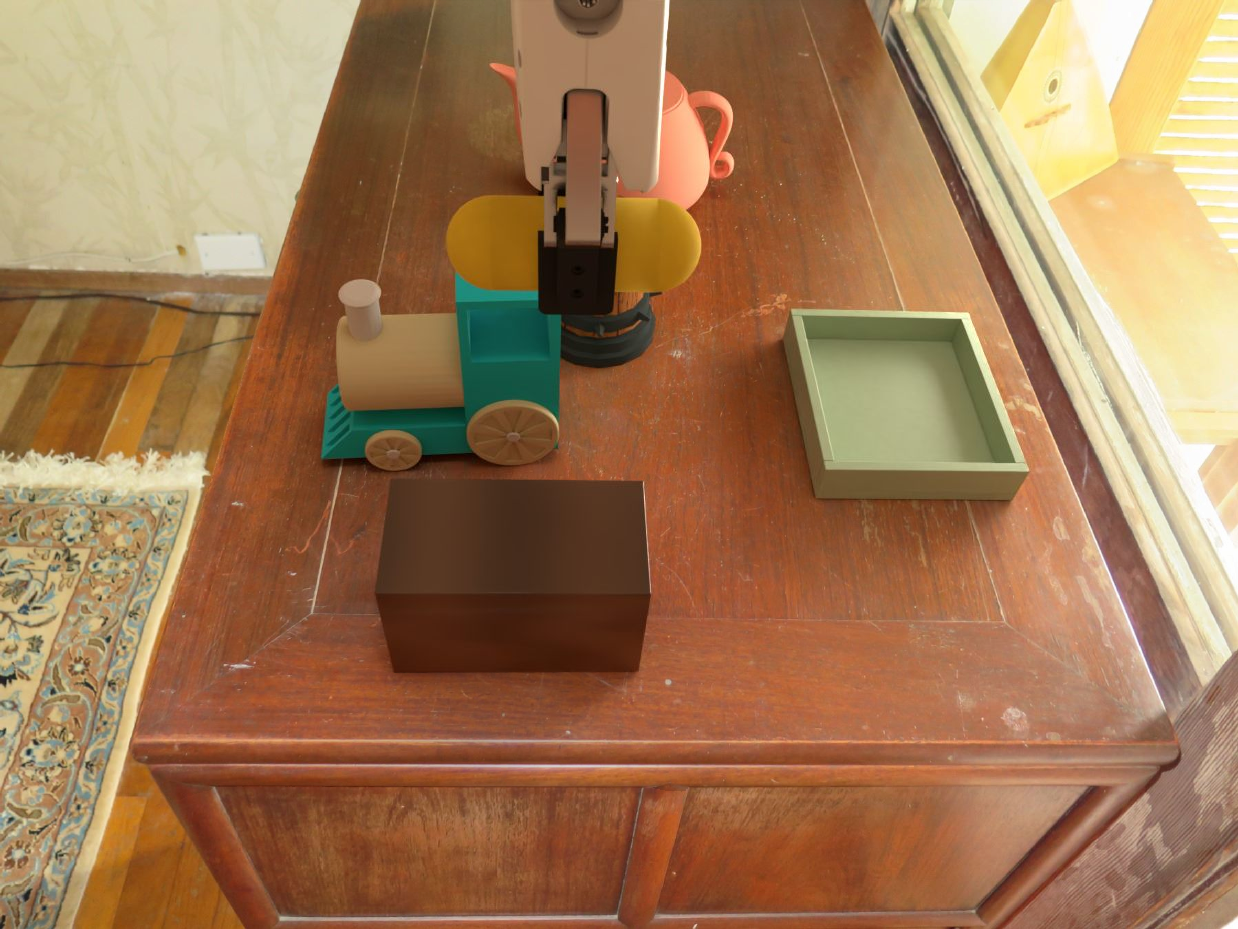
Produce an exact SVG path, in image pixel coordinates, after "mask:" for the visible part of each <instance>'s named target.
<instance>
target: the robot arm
mask: <svg viewBox="0 0 1238 929" xmlns="http://www.w3.org/2000/svg"><path fill="white" fill-rule="evenodd" d="M670 1H671V0H510V14H511V16H510V17H511V18H510V19H511V32H512V33H511V34H512V46H513V47H512V49H513V60H514V61H513V62H514V63H513V64H514V68H515V75H516V87H517V98H518V109H519V118H520V127H521V137H522V146H521V148H522V147H523V148H522V156H523V164H524V174H525V179H526V180H527V181H528V182H529V183H530V184H531V186H532V187H533V188H535V189H537V190H538V191H537V192H538V193H537V194H538V195H537V196H544V231H543V230H538V309H539V311H540V312H541V313H543V314H546V315H608V314H610V313H611V312H612V311H613V309H614V295H615V280H616V266H617V251H618V232H615V212H616V191H617V183H618V176H617V170H618V173H619V175H620V178H621V180H622V182H623V185H624V187H625V189H626V191H641V193H648V192H649V191H650V190H651V189H652V188H653V187H654V186H655V185H656V184H657V182H658V173H659V154H660V136H661V120H662V106H663V91H664V77H665V70H666V63H667V47H668V34H669V33H668V32H669V16H670ZM556 156H557V162H554V159H556ZM602 160H606V163H602ZM557 196H564V197H566V208H565V207H559V211H557Z"/></svg>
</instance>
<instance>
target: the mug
mask: <svg viewBox="0 0 1238 929" xmlns="http://www.w3.org/2000/svg"><path fill="white" fill-rule="evenodd" d="M616 198H625V197H622V196H619V195H617V196H616ZM660 295H663V292H615V295H614V309H613V311H612V312H611V313H610V314H608V315H561V348H560V359H563V360H565V361H566V362H570V363H571V364H573V365H577V366H584V367H590V368H591V367H592V368H597V369H599V368H608V367H614V366H621V365H624V364H626V363H628V362H630V361H632V360H634V359H636V358H638V357H640V356H642V354H643V353H644V352H645V351H646V350H647V349H648V347H649V346H650V345H651V344H652V343H653V339H654V334H655V327H656V320H657V319H656V316H655V314H654V310H653V308H652V304H651V303H650V301H651V298H653V297H656V296H657V297H658V296H660Z"/></svg>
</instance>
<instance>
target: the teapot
mask: <svg viewBox="0 0 1238 929" xmlns="http://www.w3.org/2000/svg"><path fill="white" fill-rule="evenodd" d="M489 67H490V68H491V70H492V71H494V72H495V73H497V74H498V75H499V77H501V78H502V79H503V80H504V81H505V82H506V84H507V86H508V87H509V88H510V89H509V90H510V91H511V94H512V99H513V108H514V123H515V124H514V125H515V131H516V135H517V138H518V143H519V144H520V146H521V148H522V149H523V147H522V137H521V127H520V118H519V109H518V98H517V87H516V75H515V67H513V66H509V65H507V64H503V63H499V62H491V63H489ZM700 107H709V108H713V109H715V110H717V111H719V112H720V113H721V120H720V124H719V127H718V130H717V132H716V134H715V136H714V138H713V140H712V142H711V144H710V145H709V141H708V138H707V137H708V136H707V134H706V130H705V126H704V124H703V122H702V119H701V116H700V113H699V112H698V110H697V108H700ZM733 122H734V114H733V109H732V106H731V104H730V103H729V101H728V100H727V99H726V98H725V97H724V96H722V95H720V94H719V93H716V92H715V91H711V90H698V91H694V92H691V93H690V94H689V93H688V91H687V90H686V88H685V86H684V85H683V84H682V83H681V80H679V79H678V77H676V76H675V75H673V74H672V73H671V72H670V71H668V70H666V69H665V77H664V91H663V106H662V120H661V136H660V154H659V173H658V182H657V184H656V185H655V186H654V187H653V188H652V189H651V190H650V191H649V192H648V193H641V191H626V189H625V187H624V185H623V182H622V180H621V178H620V175H619V173H618V170H617V176H618V183H617V191H616V196H617V195H619V196H622V197H625V198H658V199H666V200H669V201H672V202H675V203H676V204H678V205H680V206H681V207H683V208H684V209H685V210H686V211H687V210H688V209H690V208H691V207H692V206H694V204H696V202H698V200H700V198H701V196H702V195H703V194H704V192H705V191H706V188H707V186H708V183H709V179H712V180H717V181H718V180H723V179H725V178H727V177H729V176H730V175H731V174H732V172H733V171H734V167H735V160H734V157H733V156H732V154H731V153H729V152H728V151H723V148H724V146H725V144H726V142H727V140H728V138H729V135H730V133H731V129H732V126H733ZM554 162H557V156H556V159H554ZM716 162H723V164H722V165H716ZM602 163H606V160H602Z"/></svg>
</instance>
